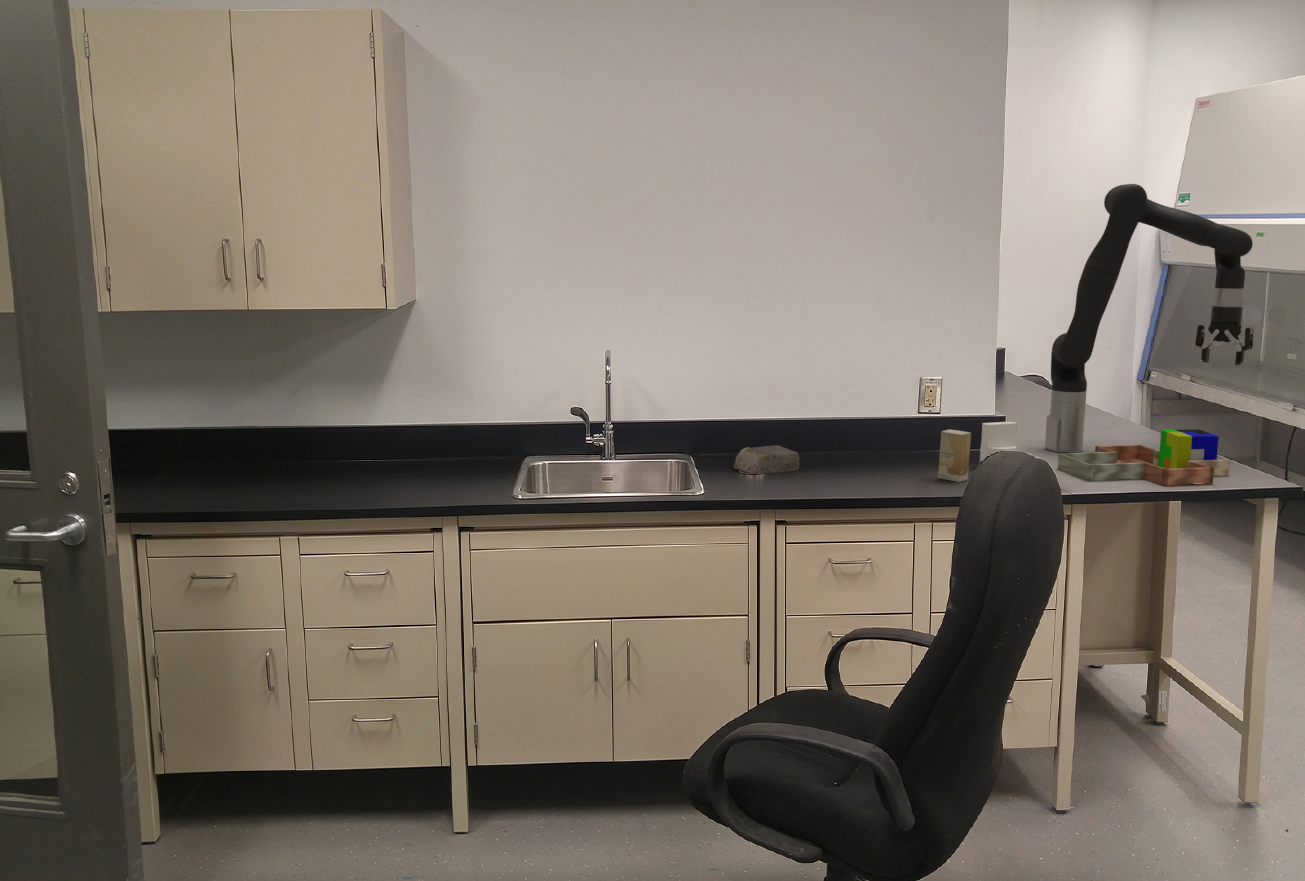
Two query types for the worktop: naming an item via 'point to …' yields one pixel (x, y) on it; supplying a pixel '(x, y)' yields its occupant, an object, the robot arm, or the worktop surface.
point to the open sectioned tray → (1137, 466)
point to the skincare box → (954, 455)
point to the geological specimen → (766, 460)
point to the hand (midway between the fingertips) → (1221, 363)
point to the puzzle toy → (1186, 447)
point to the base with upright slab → (997, 438)
